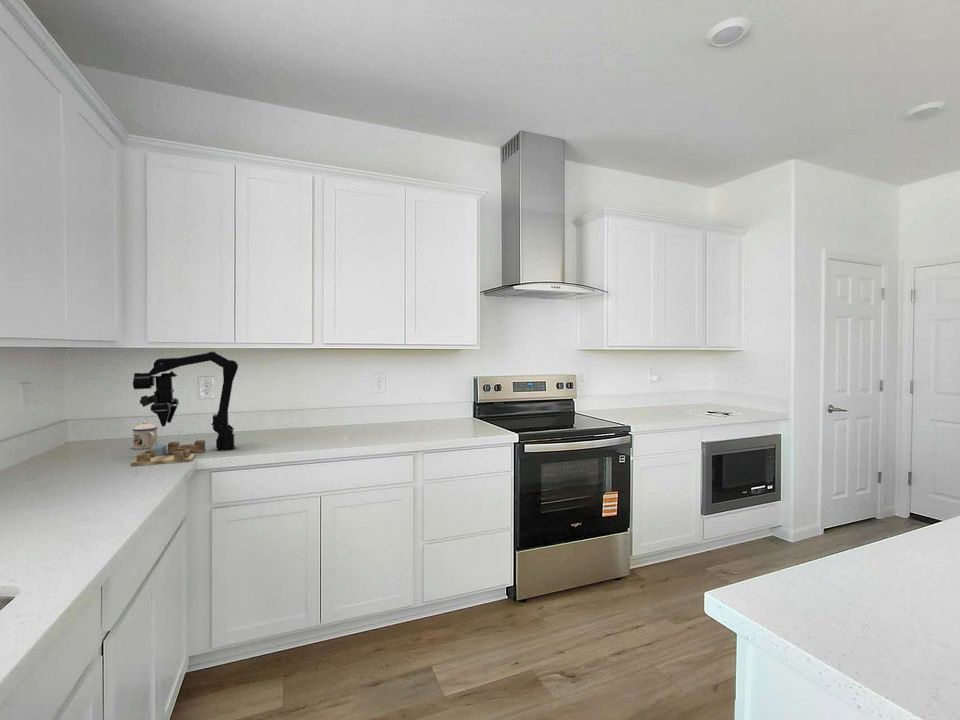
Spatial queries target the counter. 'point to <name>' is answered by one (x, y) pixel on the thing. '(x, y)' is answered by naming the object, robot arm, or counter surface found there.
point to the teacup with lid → (145, 436)
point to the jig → (163, 457)
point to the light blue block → (159, 450)
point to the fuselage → (194, 448)
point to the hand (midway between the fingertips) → (166, 424)
